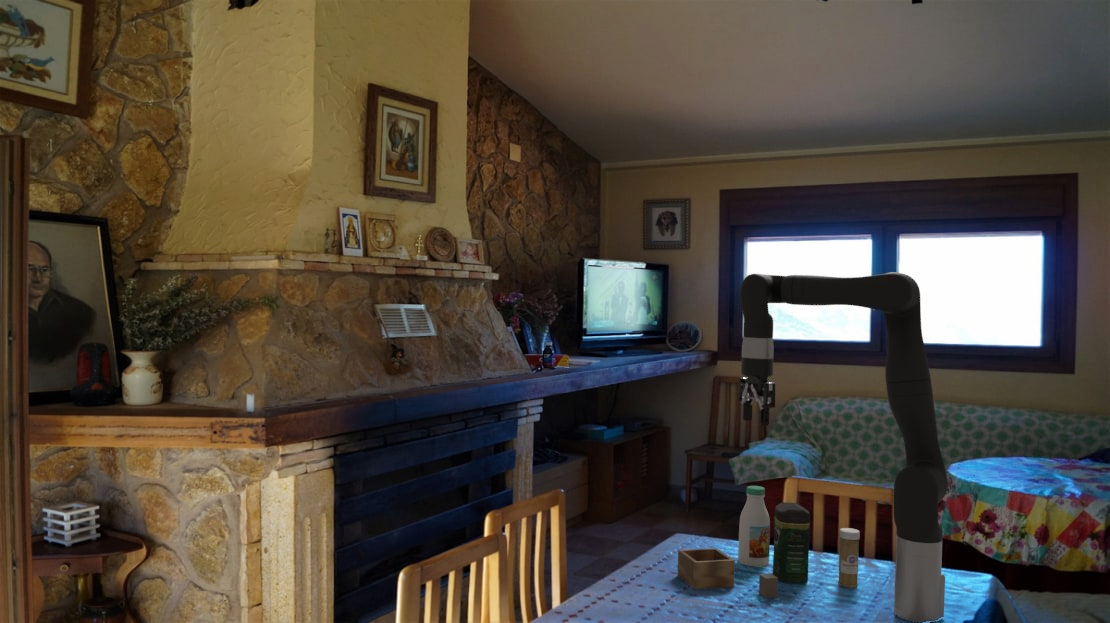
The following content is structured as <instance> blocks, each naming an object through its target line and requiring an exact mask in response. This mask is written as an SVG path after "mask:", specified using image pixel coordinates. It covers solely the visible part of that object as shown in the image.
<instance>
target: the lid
mask: <svg viewBox="0 0 1110 623" xmlns="http://www.w3.org/2000/svg"><path fill="white" fill-rule="evenodd" d="M758 578H759V580H758V594H759V595H760V596H762V597H763V598H764V599H775V598H778V590H779V589H778V588H779V585H778V584H779V581H778V577H776V576H774V575H773V573H760V574H759V577H758ZM798 604H799V605H800V606H802V603H800V602H799V603H798Z"/></svg>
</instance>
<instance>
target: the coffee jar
mask: <svg viewBox="0 0 1110 623" xmlns="http://www.w3.org/2000/svg"><path fill="white" fill-rule="evenodd" d="M810 525H811V513H810V512H809V510H808V509H807V508H805V507H804V506H801V504H799V503H797V502H789V501H787V502H786V501H783V502H780V503H779V504H777V505H776V506H775V507H774V538H773V555H772V556H773V559H772V574H773V575H774V576H776V577H778V582H779V583H785V584H794V585H796V584H797V585H804V584H808V581H809V553H810V552H809V550H810V531H811V530H810V527H811V526H810Z"/></svg>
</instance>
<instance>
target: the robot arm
mask: <svg viewBox="0 0 1110 623" xmlns="http://www.w3.org/2000/svg"><path fill="white" fill-rule="evenodd" d="M739 294H740V295H739V297H740V305H741V310H742V315H743V335H742V343H741V361H740V362H741V365H740V366H741V367H740V369H741V370H740V371H741V372H740V373H741V374H740V375H742V376H745V377H739V379H738V395H737V401H738V402H740V403H741V405H742V420H743V421H747V422H748V421H752V419H753V403H754V400H755V402H756V403H758V404H757V405H758V407H759V417H758V418H759V419H758V420H759V421H758V422H759V425H760V426H764V427H765V426H769V425H770V411H771V410H772V409H773V408H774V409H775V407H776V383H775V382H769V380H768V379H769V378H770V377H772V376H773V375H774V349H775V348H774V318H773V316H772V315H771V314H770V313H769V312H770V311H769V304H787V305H795V306H796V305H797V306H839V305H841V306H842V305H844V306H852V307H853V306H854V307H855V306H856V307H863V308H867V309H872V310H876V311H880V312H882V314H883V316H884V321H885V322H884V323H885V327H886V328H885V329H886V333H887V350H886V356H885V357H886V358H885V366H884V368H885V369H884V370H885V373H884V374H885V376H884V377H885V383H886V384H885V385H886V392H887V400H888V404H889V408H890V410H891V413H892V415H893V417H894V420H895V423H896V424H897V426H898V428H899V431H900V432H901V433H900V434H901V437H902V439H903V443H904V449H905V459H906V460H905V462H906V466H905V467H903V468H902V469H900V470H899V471H898V472H897V475H896V476H895V478H894V482H893V483H894V484H893V519H894V524H895V527H896V529H895V530H896V531H895V532H896V534H895V535H896V538H895V541H896V542H895V564H894V565H895V566H894V568H895V569H894V570H895V571H894V572H895V573H894V598H893V600H894V602H893V614H894V615H895V616H896V615H897V616H896V617H898V618H900V619H902V620H904V619H905V620H904V621H907V620H909V621H908V622H911V621H915V622H914V623H917V622H926V621H935V620H938V619H939V618H941V617H944V618H945V594H946V593H945V592H946V575H945V574H943V573H942V566H943V565H942V564H943V562H942V559H943V558H942V557H943V537H944V534H943V533H944V532H943V527H942V526H941V525H940V523H939V502H941V501H942V499H944V498H945V496H946V495H947V492H948V489H949V479H948V474H947V470H946V467H945V463H944V462H945V461H944V458H943V455H942V452H941V447H940V444H939V443H940V442H939V436H938V430H937V418H936V410H935V403H934V401H935V400H934V393H933V392H934V391H933V385H932V379H931V373H930V367H929V362H928V361H929V360H928V357H927V356H928V355H927V352H926V347H925V343H924V339H923V332H922V317H921V316H922V313H921V291H920V287H919V285H918V283H917V282H916V280H915V279H914V278H913V277H912V276H909V275H908V274H905V273H902V272H895V271H891V272H890V271H889V272H886V273H881V274H874V275H868V276H867V275H866V276H859V277H855V276H854V277H841V276H840V277H839V276H838V277H837V276H825V275H811V274H810V275H809V274H805V275H804V274H802V275H801V274H790V275H778V274H777V275H773V274H761V273H751V274H748V275H747V276H746V277H745V278H743V280H742V282H741V285H740V289H739ZM768 377H769V378H768Z"/></svg>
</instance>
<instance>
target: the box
mask: <svg viewBox="0 0 1110 623" xmlns="http://www.w3.org/2000/svg"><path fill="white" fill-rule="evenodd" d="M735 561H736V560H735V559H734V558H732V557H731V556H729V555H728V554H726V553H724V552H723V551H722V550H720V549H718V548H717V547H714V548H713V547H712V548H708V547H707V548H695V549H694V548H692V549H691V548H690V549H678V550H677V577H678V578H680V580H682V581H684V583H686V584H687V585H688V586H689V587H690V588H692V589H693V590H707V589H721V588H723V589H724V588H735V572H736V571H735V569H736V568H735V566H736V565H735V564H736V562H735Z"/></svg>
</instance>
